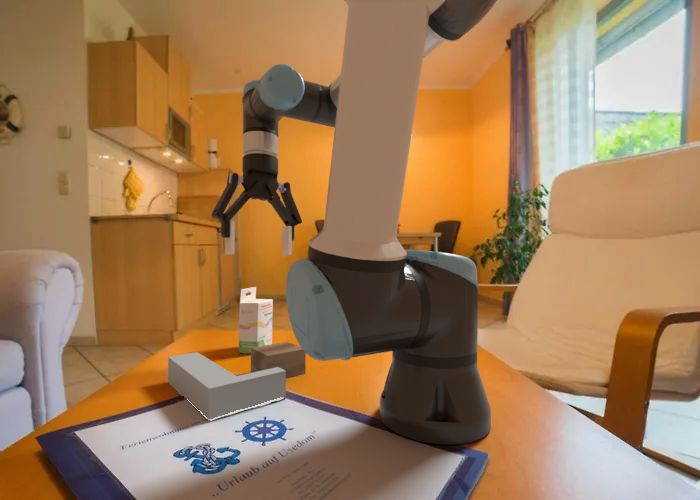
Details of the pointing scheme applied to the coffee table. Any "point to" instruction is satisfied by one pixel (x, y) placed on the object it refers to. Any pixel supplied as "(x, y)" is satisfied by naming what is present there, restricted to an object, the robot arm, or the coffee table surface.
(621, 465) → the coffee table surface
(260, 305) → the ink box
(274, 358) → the walnut block
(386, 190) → the robot arm
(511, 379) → the coffee table surface
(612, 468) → the coffee table surface
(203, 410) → the gray l-shaped block
